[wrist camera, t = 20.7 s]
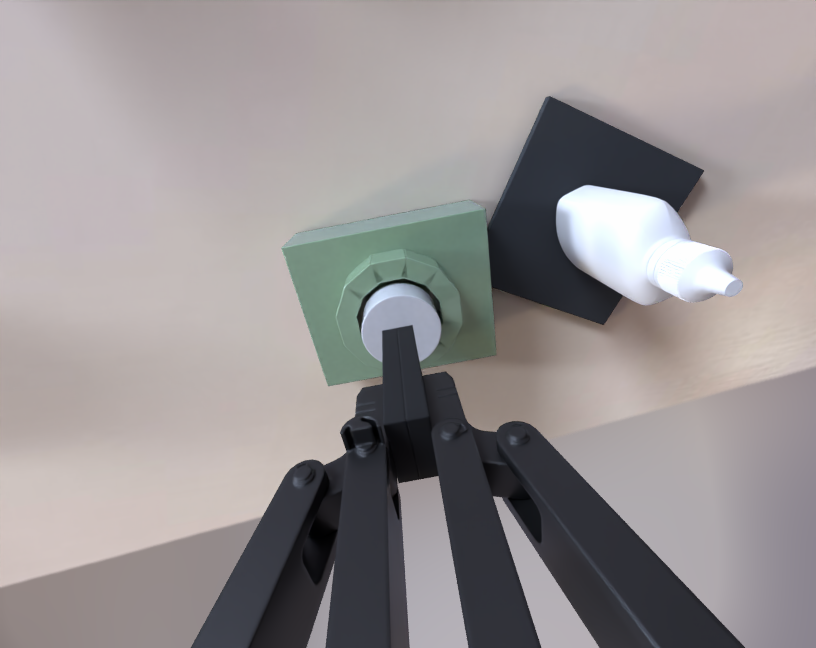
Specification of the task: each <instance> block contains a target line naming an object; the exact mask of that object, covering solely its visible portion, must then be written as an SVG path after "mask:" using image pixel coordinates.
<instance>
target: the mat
mask: <svg viewBox="0 0 816 648" xmlns="http://www.w3.org/2000/svg"><path fill="white" fill-rule="evenodd" d="M703 172H704V170H702V169H700V168H698V167H696V166H694V165H692V164H690V163H687V162H685V161H683V160H681V159H679V158H677V157H675V156H673V155H671V154H669V153H667V152H665V151H663V150H661V149H658V148H656V147H654V146H652V145H650V144H648V143H646V142H644V141H642V140H640V139H638V138H636V137H634V136H631V135H629V134H627V133H625V132H623V131H621V130H619V129H617V128H615V127H613V126H611V125H609V124H607V123H604V122H602V121H600V120H598V119H596V118H594V117H592V116H590V115H588V114H586V113H584V112H582V111H580V110H577V109H575V108H573V107H571V106H569V105H567V104H565V103H563V102H561V101H559V100H557V99H555V98H553V97H550V96H549V97H546V98H545V101H544V103H543V105H542V107H541V110H540V112H539V114H538V116H537V118H536V121H535V123H534V125H533V127H532V130H531V132H530V134H529V136H528V139H527V141H526V143H525V145H524V147H523V150H522V152H521V154H520V156H519V159H518V161H517V163H516V165H515V168H514V170H513V172H512V174H511V177H510V179H509V181H508V183H507V185H506V188H505V190H504V192H503V194H502V197H501V199H500V201H499V203H498V206H497V208H496V210H495V212H494V215H493V217H492V219H491V221H490V223H489V226H488V228H487V233H488V247H489V260H490V274H491V287H493V288H496V289H499V290H502V291H505V292H508V293H511V294H514V295H517V296H520V297H523V298H526V299H529V300H532V301H535V302H538V303H540V304H543V305H546V306H549V307H552V308H555V309H558V310H561V311H564V312H567V313H570V314H573V315H576V316H579V317H582V318H585V319H588V320H591V321H594V322H596V323H599V324H602V325H604V324H605V322H606V321H607V319H608V318H609V316H610V314H611V313H612V311H613V310H614V308H615V307H616V305H617V304H618V302H619V301H620V299H621V298H622V296H623V295H622V294H620V293H618V292H617V291H615V290H613V289H612V288H610V287H608V286H607V285H605V284H603V283H602V282H600V281H598V280H597V279H595V278H593V277H592V276H590V275H588V274H587V273H585V272H583V271H582V270H580V269H578V268H577V267H576V266H575V265H574V264H573V263H572V262H571V261H570V260H569V259H568V257H567V256H566V254H565V253H564V251H563V249H562V247H561V245H560V242H559V239H558V235H557V229H556V210H557V204H558V202H559V200H560V199H561V198H562V197H563V196H564V195H566V194H568V193H570V192H572V191H574V190H576V189H578V188H580V187H582V186H586V185H592V186H597V187H603V188H609V189H615V190H620V191H626V192H631V193H637V194H642V195H647V196H651V197H656V198H659V199H661V200H663V201H666V202H667V203H668V204H669V205H670V206H671V207H672V208H673V209H674V210H675V211H676V212H678V210H679V209H680V207H681V206H682V204H683V203H684V201H685V200H686V198H687V197H688V195H689V193H690V192H691V190H692V189H693V187H694V186H695V184H696V183H697V181H698V180H699V178H700V177H701V175H702V174H703Z"/></svg>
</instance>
